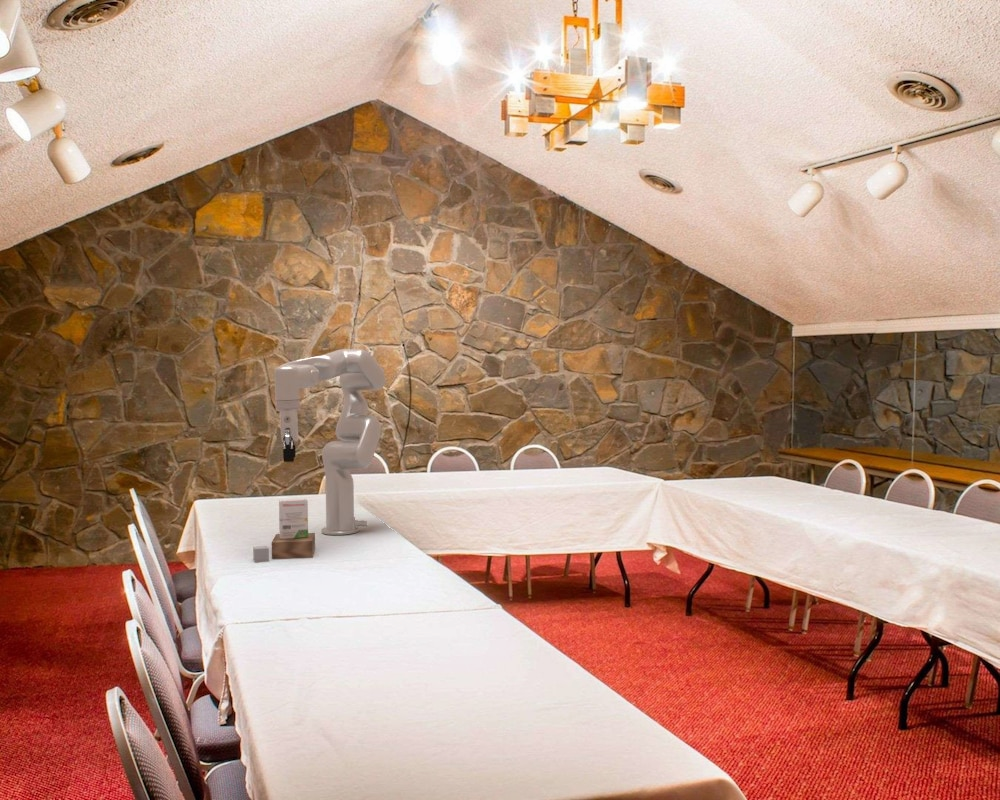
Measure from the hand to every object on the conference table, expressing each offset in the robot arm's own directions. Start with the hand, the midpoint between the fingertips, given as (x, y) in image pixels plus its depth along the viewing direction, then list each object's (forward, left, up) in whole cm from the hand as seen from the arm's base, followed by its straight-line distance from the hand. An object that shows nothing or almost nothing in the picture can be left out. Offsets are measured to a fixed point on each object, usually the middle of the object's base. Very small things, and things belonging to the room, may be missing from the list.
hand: (289, 459), depth 289 cm
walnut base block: (-1, +8, -28) cm, 29 cm away
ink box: (-1, +7, -24) cm, 25 cm away
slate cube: (+8, +16, -29) cm, 33 cm away
